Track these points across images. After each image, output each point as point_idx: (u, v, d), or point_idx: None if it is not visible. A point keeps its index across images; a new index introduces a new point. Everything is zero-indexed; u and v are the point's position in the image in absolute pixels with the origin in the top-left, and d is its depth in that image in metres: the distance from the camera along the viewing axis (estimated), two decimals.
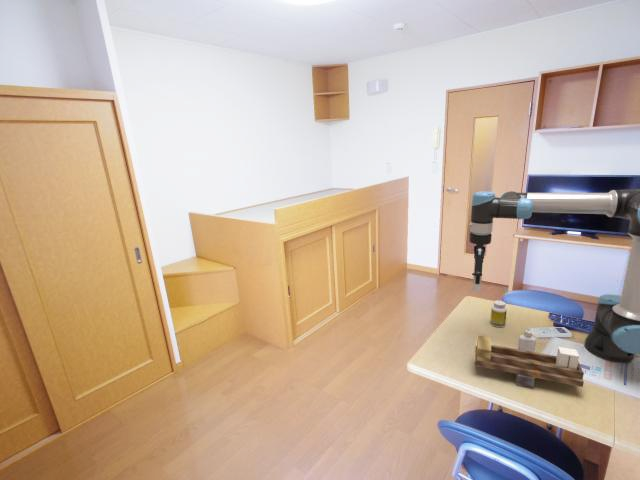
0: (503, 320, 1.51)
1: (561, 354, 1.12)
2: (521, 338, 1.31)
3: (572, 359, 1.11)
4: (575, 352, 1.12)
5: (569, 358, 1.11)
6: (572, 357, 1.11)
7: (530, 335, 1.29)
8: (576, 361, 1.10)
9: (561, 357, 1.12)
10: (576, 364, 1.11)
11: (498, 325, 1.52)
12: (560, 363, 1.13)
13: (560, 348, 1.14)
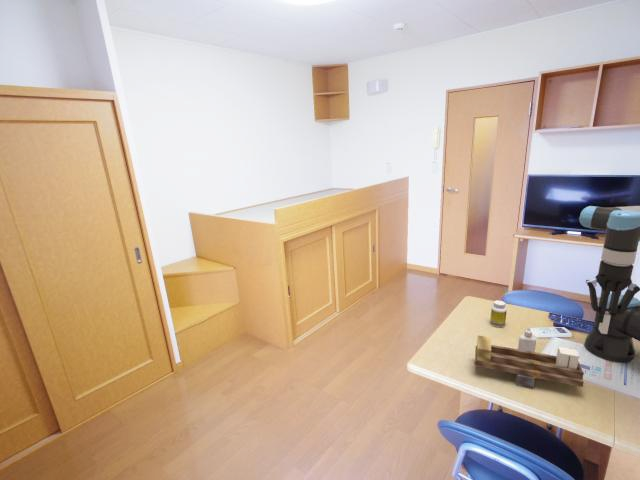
0: (503, 320, 1.51)
1: (561, 354, 1.12)
2: (521, 338, 1.31)
3: (572, 359, 1.11)
4: (575, 352, 1.12)
5: (569, 358, 1.11)
6: (572, 357, 1.11)
7: (530, 335, 1.29)
8: (576, 361, 1.10)
9: (561, 357, 1.12)
10: (576, 364, 1.11)
11: (498, 325, 1.52)
12: (560, 363, 1.13)
13: (560, 348, 1.14)
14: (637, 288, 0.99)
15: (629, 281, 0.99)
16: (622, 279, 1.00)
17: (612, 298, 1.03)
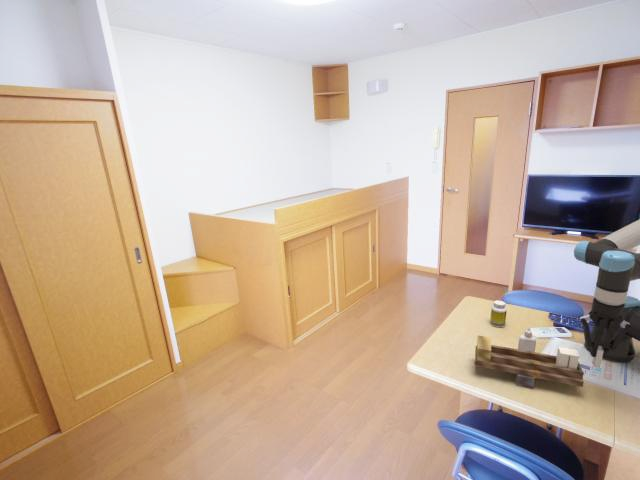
0: (503, 320, 1.51)
1: (561, 354, 1.12)
2: (521, 338, 1.31)
3: (572, 359, 1.11)
4: (575, 352, 1.12)
5: (569, 358, 1.11)
6: (572, 357, 1.11)
7: (530, 335, 1.29)
8: (576, 361, 1.10)
9: (561, 357, 1.12)
10: (576, 364, 1.11)
11: (498, 325, 1.52)
12: (560, 363, 1.13)
13: (560, 348, 1.14)
14: (628, 326, 1.02)
15: (621, 319, 1.03)
16: (614, 317, 1.03)
17: (605, 334, 1.06)
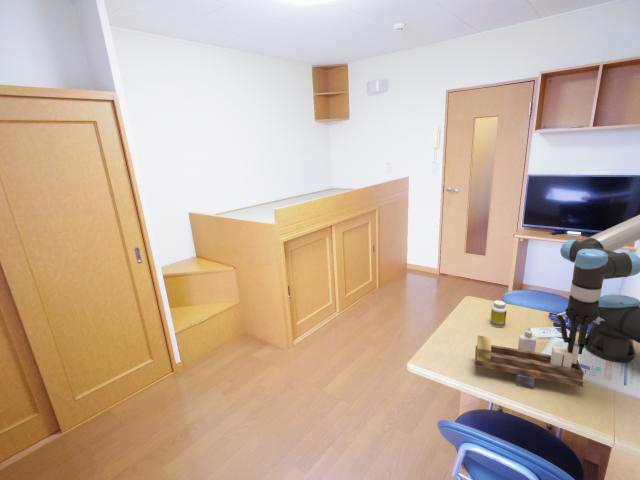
0: (503, 320, 1.51)
1: (555, 353, 1.12)
2: (521, 338, 1.31)
3: (566, 358, 1.11)
4: None
5: (563, 357, 1.12)
6: (566, 356, 1.11)
7: (530, 335, 1.29)
8: (570, 360, 1.11)
9: (555, 356, 1.13)
10: (570, 363, 1.11)
11: (498, 325, 1.52)
12: (554, 362, 1.13)
13: (554, 347, 1.15)
14: (603, 322, 1.05)
15: (595, 315, 1.05)
16: (589, 313, 1.06)
17: (581, 331, 1.09)
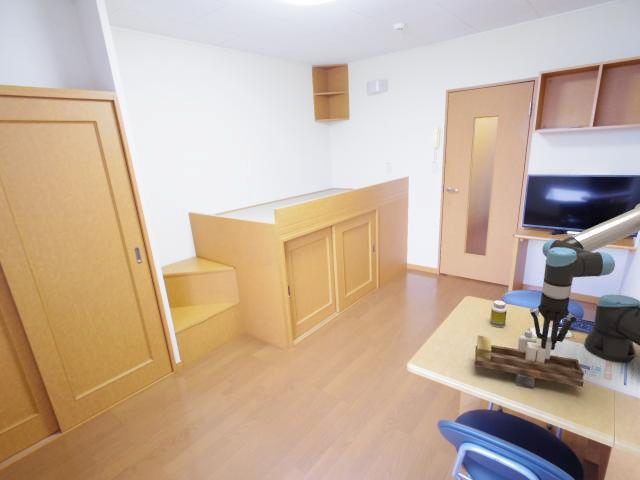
0: (503, 320, 1.51)
1: (529, 349, 1.16)
2: (521, 338, 1.31)
3: (539, 353, 1.15)
4: None
5: (536, 352, 1.15)
6: (539, 352, 1.14)
7: (530, 335, 1.29)
8: (543, 355, 1.14)
9: (529, 351, 1.16)
10: (543, 358, 1.14)
11: (498, 325, 1.52)
12: (528, 357, 1.16)
13: (529, 343, 1.18)
14: (573, 318, 1.08)
15: (566, 312, 1.08)
16: (560, 310, 1.09)
17: (553, 327, 1.12)
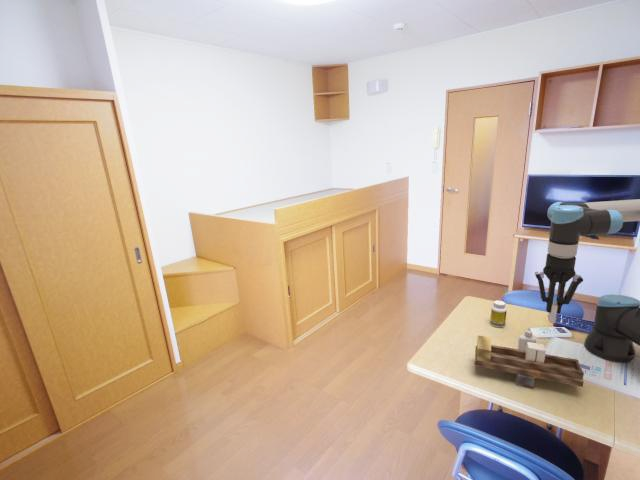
0: (503, 320, 1.51)
1: (529, 349, 1.16)
2: (521, 338, 1.31)
3: (539, 353, 1.15)
4: (542, 347, 1.15)
5: (536, 352, 1.15)
6: (539, 352, 1.14)
7: (530, 335, 1.29)
8: (543, 355, 1.14)
9: (529, 351, 1.16)
10: (543, 358, 1.14)
11: (498, 325, 1.52)
12: (528, 357, 1.16)
13: (529, 343, 1.18)
14: (580, 279, 1.04)
15: (573, 272, 1.05)
16: (566, 271, 1.05)
17: (559, 289, 1.08)
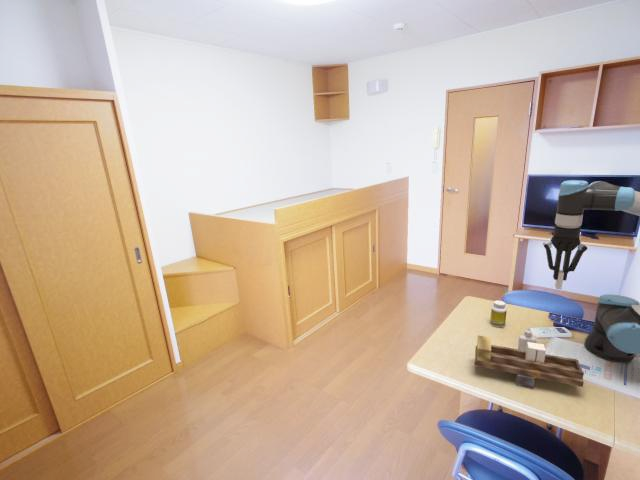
0: (503, 320, 1.51)
1: (529, 349, 1.16)
2: (521, 338, 1.31)
3: (539, 353, 1.15)
4: (542, 347, 1.15)
5: (536, 352, 1.15)
6: (539, 352, 1.14)
7: (530, 335, 1.29)
8: (543, 355, 1.14)
9: (529, 351, 1.16)
10: (543, 358, 1.14)
11: (498, 325, 1.52)
12: (528, 357, 1.16)
13: (529, 343, 1.18)
14: (584, 247, 1.15)
15: (578, 241, 1.15)
16: (572, 240, 1.16)
17: (565, 258, 1.19)
